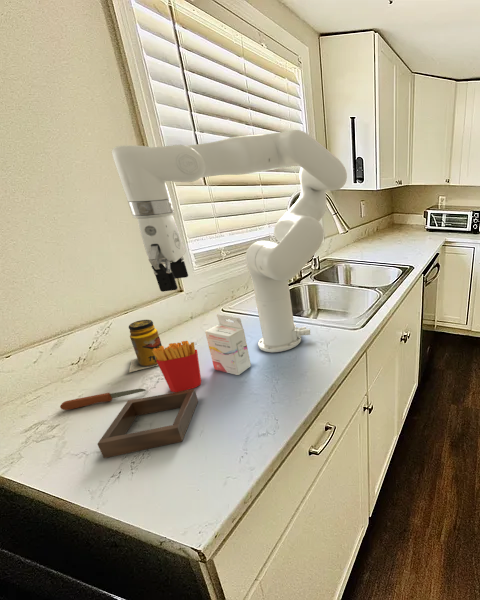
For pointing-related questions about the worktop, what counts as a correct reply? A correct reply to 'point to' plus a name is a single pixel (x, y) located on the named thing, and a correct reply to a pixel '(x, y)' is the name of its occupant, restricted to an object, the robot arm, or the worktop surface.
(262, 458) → the worktop surface
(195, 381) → the french fries
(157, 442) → the holder
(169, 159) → the robot arm
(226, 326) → the ink cartridge box
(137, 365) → the condiment
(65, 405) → the kitchen knife
